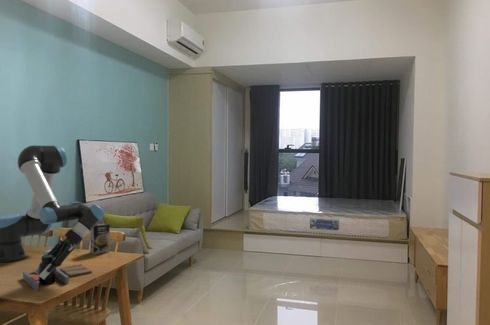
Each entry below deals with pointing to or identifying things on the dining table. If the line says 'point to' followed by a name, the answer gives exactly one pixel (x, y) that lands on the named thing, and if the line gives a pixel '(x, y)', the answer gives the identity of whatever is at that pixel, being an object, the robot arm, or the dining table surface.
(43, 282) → the supplement bottle
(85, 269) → the walnut pad
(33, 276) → the pad
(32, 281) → the channel
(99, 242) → the coffee box
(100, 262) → the dining table surface
